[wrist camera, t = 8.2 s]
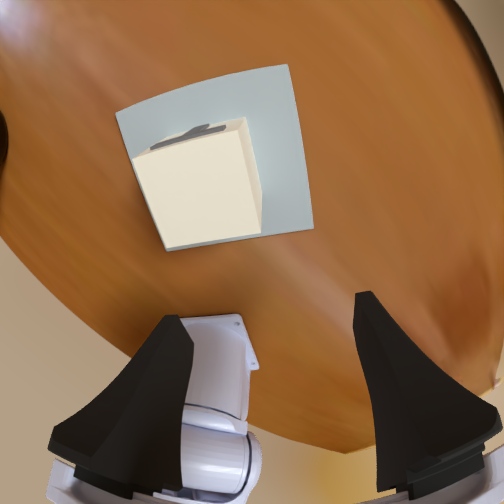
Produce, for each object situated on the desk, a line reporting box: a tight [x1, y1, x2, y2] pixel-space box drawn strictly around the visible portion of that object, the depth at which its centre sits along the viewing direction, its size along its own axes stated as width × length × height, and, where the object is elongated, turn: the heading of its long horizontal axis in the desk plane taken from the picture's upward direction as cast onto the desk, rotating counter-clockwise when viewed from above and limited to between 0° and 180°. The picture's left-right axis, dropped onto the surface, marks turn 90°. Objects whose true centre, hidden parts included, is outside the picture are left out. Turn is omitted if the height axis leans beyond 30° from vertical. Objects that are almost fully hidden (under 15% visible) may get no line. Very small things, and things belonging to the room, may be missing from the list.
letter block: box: [132, 117, 262, 248], centre depth 14 cm, size 5×5×5 cm
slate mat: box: [115, 64, 314, 252], centre depth 16 cm, size 11×11×1 cm
